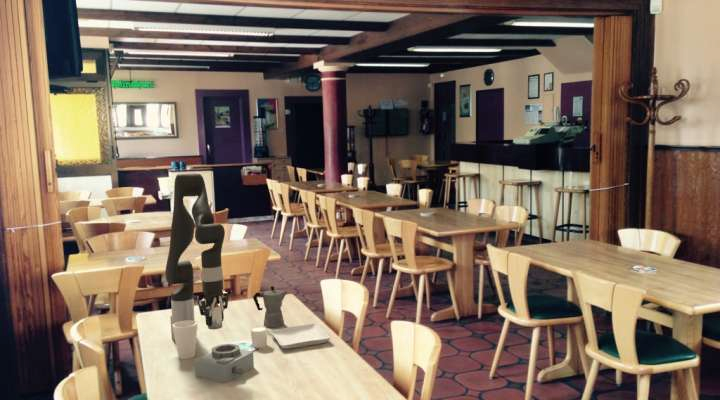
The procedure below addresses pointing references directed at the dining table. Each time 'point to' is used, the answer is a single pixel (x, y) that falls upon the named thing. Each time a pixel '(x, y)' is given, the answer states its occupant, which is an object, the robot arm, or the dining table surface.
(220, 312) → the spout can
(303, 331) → the salad plate
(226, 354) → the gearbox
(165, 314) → the dining table surface
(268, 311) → the coffeepot
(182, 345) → the foam cup
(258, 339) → the cream short cylinder
